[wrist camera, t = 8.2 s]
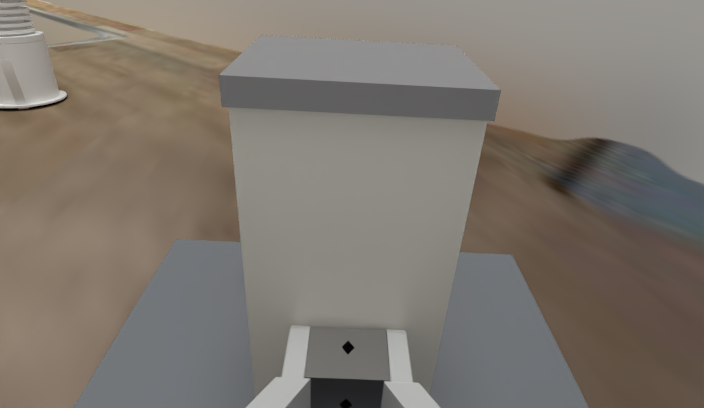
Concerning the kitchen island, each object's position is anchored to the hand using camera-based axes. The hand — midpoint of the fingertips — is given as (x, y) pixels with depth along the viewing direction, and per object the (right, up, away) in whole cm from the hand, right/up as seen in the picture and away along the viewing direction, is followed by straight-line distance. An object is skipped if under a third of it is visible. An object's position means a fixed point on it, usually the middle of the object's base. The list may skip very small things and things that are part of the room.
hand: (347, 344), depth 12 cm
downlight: (-33, +14, +34) cm, 50 cm away
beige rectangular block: (0, -3, +4) cm, 5 cm away
